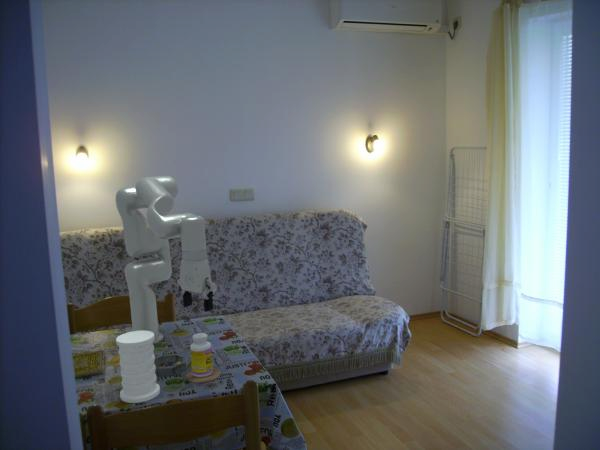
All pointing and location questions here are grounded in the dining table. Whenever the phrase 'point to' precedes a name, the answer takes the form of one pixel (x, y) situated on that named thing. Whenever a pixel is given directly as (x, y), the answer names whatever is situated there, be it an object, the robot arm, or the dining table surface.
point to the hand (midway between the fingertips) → (198, 308)
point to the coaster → (206, 379)
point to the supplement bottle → (201, 356)
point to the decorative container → (137, 366)
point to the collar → (172, 370)
